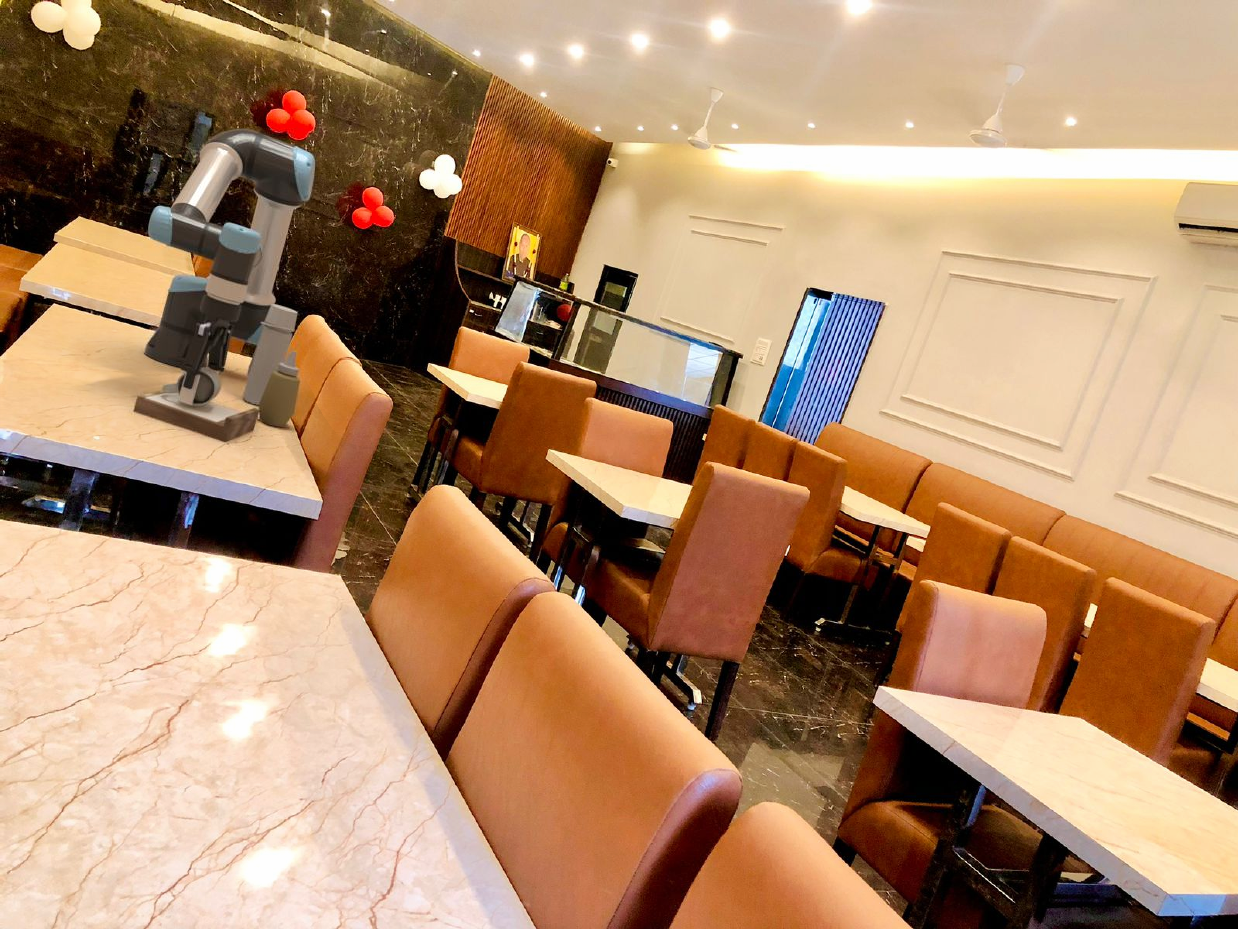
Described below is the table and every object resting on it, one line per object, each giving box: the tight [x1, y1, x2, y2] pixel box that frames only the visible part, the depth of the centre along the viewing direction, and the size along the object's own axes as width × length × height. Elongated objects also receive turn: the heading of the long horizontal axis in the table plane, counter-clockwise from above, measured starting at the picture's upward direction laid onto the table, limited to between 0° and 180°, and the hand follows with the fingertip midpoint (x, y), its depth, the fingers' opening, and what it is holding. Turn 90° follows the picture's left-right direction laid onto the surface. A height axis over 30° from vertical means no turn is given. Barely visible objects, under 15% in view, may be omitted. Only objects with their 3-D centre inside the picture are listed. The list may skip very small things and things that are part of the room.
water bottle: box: [242, 303, 298, 406], centre depth 220 cm, size 9×8×25 cm
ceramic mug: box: [161, 367, 222, 406], centre depth 186 cm, size 11×8×8 cm
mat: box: [145, 393, 241, 423], centre depth 187 cm, size 14×15×1 cm
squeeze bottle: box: [258, 350, 301, 428], centre depth 207 cm, size 8×8×18 cm
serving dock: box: [133, 389, 260, 443], centre depth 188 cm, size 16×19×5 cm
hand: (194, 399), depth 187 cm, fingers closed on ceramic mug, 9 cm apart
